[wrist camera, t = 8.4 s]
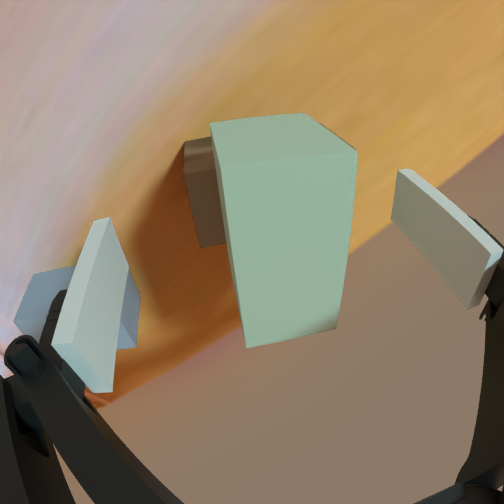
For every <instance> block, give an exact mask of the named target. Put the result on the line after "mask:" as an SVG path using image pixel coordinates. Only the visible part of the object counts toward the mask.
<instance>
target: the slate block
mask: <svg viewBox="0 0 504 504" xmlns="http://www.w3.org/2000/svg"><path fill="white" fill-rule="evenodd" d="M75 268H76V265H75V266H70V267H65V268H61V269H56V270H52V271H47V272H42V273H38V274H33V277H32V279H31V281H30V283H29V285H28V288H27V290H26V292H25V294H24V297H23V299H22V302H21V304H20V306H19V309H18V311H17V314H16V316H15V319H14V323H15V324H16V325H17V327H18V328H19V329H20V331H21V332H22V333H23V334H24V335H31V336H32V337H33V338H34V339H35V340H36V341H37V342H38V343H39V340H40V337H41V334H42V330H43V327H44V324H45V323H46V318H47V315H48V314H49V309H50V306H51V303H52V301H53V299H54V298H55V296H56V295H57V294H58V292H59V291H60V290H65V289H68V287H69V284H70V282H71V279H72V276H73V273H74V270H75ZM140 299H141V296H140V294H139V291H138V289H137V287H136V285H135V282H134V280H133V278H132V275H131V273H130V271H129V269H128V275H127V280H126V286H125V292H124V298H123V305H122V311H121V318H120V326H119V333H118V341H117V350H119V349H127V348H135V347H136V345H137V331H138V319H139V309H140Z"/></svg>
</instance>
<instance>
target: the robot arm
mask: <svg viewBox="0 0 504 504" xmlns="http://www.w3.org/2000/svg"><path fill="white" fill-rule="evenodd" d="M391 220H392V221H393V222H394V223H395V224H396V225H397V226H398V227H399V228H400V229H401V230H402V232H403V233H404V234H405V235H406V236H407V237H408V238H409V239H410V241H411V242H412V243H413V244H414V245H415V246H416V247H417V249H418V250H419V251H420V252H421V253H422V254H423V256H424V257H425V258H426V259H427V260H428V261H429V263H430V264H431V265H432V266H433V267H434V269H435V270H436V271H437V272H438V274H439V275H440V276H441V277H442V279H443V280H444V281H445V282H446V284H447V285H448V286H449V288H450V289H451V290H452V291H453V293H454V294H455V295H456V296H457V298H458V299H459V300H460V302H461V303H462V305H463V306H464V307H465V308H466V310H468V309H470V308H472V307H475V306H477V305H479V304H480V302H481V300H482V298H483V296H484V294H486V295H487V297H488V298H489V299H488V301H487V303H486V305H485V307H484V309H483V311H482V313H481V314H480V318H479V319H482V317H483V316H484V315H485V314H486V318H485V321H486V334H485V353H484V366H483V377H482V386H481V394H480V401H479V408H478V414H477V420H476V425H475V431H474V436H473V440H472V445H471V450H470V454H469V457H468V459H467V460H466V462H465V463H464V465H463V466H462V468H461V470H460V472H459V474H458V476H457V479H456V482H455V485H453V486H451V487H449V488H447V489H445V490H443V491H440V492H438V493H436V494H434V495H432V496H429V497H427V498H425V499H423V500H421V501H418V502H416V503H414V504H504V246H503V245H502V244H501V243H500V242H499V241H498V240H497V239H496V238H495V237H494V236H493V235H492V234H489V232H488V231H487V230H486V229H485V228H483V226H482V225H481V224H480V223H479V222H478V221H476V220H475V219H473V218H472V217H470V216H468V215H466V214H465V213H464V212H463V211H462V210H461V209H459V208H458V207H457V206H456V205H455V204H453V203H452V202H451V201H450V200H449V199H447V198H446V197H445V196H444V195H443V194H442V193H440V192H439V191H438V190H437V189H436V188H434V187H433V186H432V185H431V184H429V183H428V182H427V181H425V180H424V179H423V178H422V177H420V176H419V175H418V174H416V173H415V172H414V171H412V170H411V169H401V170H397V178H396V186H395V194H394V201H393V208H392V214H391ZM128 269H129V265H128V263H127V260H126V258H125V256H124V253H123V251H122V248H121V245H120V243H119V240H118V238H117V235H116V232H115V230H114V227H113V224H112V222H111V219H110V217H108V218H103V219H99V220H95V221H94V222H93V225H92V227H91V229H90V232H89V234H88V237H87V239H86V241H85V244H84V247H83V249H82V252H81V254H80V257H79V259H78V262H77V265H76V268H75V270H74V273H73V276H72V279H71V282H70V284H69V287H68V289H65V290H60V291H59V292H58V294H57V295H56V296H55V298H54V299H53V301H52V303H51V306H50V309H49V314H48V315H47V318H46V323H45V324H44V327H43V330H42V334H41V337H40V340H39V343H38V342H37V341H36V340H35V339H34V338H33V337H32V336H31V335H22V336H19V337H18V338H16V339H14V340H13V341H12V342H11V343H10V344H9V346H8V348H7V349H6V351H5V355H4V364H5V365H6V366H7V367H8V368H9V369H10V370H11V371H12V373H13V374H14V375H13V376H10V377H8V378H5V379H4V378H3V377H2V376H1V375H0V504H76V503H75V501H74V499H73V496H72V494H71V492H70V489H69V487H68V484H67V482H66V479H65V477H64V474H63V472H62V469H61V466H60V463H59V461H58V458H57V455H56V452H55V449H54V446H55V447H56V449H57V450H58V452H59V454H60V455H61V457H62V458H63V460H64V461H65V463H66V464H67V466H68V467H69V469H70V470H71V472H72V473H73V475H74V476H75V478H76V479H77V480H78V482H79V483H80V485H81V486H82V487H83V489H84V490H85V491H86V493H87V494H88V495H89V497H90V498H91V499H92V501H93V502H94V503H95V504H184V503H182V501H181V500H179V499H178V498H177V497H176V496H175V495H174V494H173V493H172V492H171V491H170V490H168V489H167V488H166V487H165V486H164V485H163V484H162V483H161V482H160V481H159V480H158V479H157V478H156V477H155V476H154V475H153V474H152V473H151V472H150V471H149V470H148V469H147V468H146V467H145V466H144V465H143V464H142V463H141V462H140V460H139V459H138V458H137V457H136V456H135V455H134V454H133V453H132V452H131V451H130V450H129V448H128V447H127V446H126V445H125V444H124V443H123V442H122V441H121V439H120V438H119V437H118V436H117V435H116V434H115V433H114V431H113V430H112V429H111V428H110V426H109V425H108V424H107V423H106V422H105V420H104V419H103V418H102V417H101V415H100V414H99V413H98V411H97V410H96V409H95V407H94V406H93V405H92V404H91V402H90V401H89V400H88V398H87V397H86V396H85V395H84V390H85V385H86V386H87V387H88V388H89V389H90V390H91V392H92V393H106V392H113V380H114V369H115V359H116V350H117V341H118V333H119V326H120V318H121V311H122V305H123V298H124V292H125V286H126V280H127V275H128ZM52 442H53V443H52ZM53 444H54V446H53ZM502 485H503V490H502V492H501V491H499V490H497V489H498V488H499V487H500V486H502Z"/></svg>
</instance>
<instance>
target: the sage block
mask: <svg viewBox="0 0 504 504" xmlns="http://www.w3.org/2000/svg"><path fill="white" fill-rule="evenodd" d="M210 131H211V138H212V146H213V153H214V161H215V168H216V175H217V182H218V190H219V197H220V204H221V210H222V217H223V224H224V231H225V238H226V244H227V251H228V257H229V264H230V270H231V276H232V281H233V286H234V291H235V296H236V301H237V305H238V310H239V315H240V320H241V325H242V329H243V334H244V339H245V344H246V348H250V347H255V346H260V345H265V344H270V343H275V342H280V341H285V340H290V339H294V338H299V337H303V336H308V335H312V334H317V333H321V332H325V331H329V330H333V329H336V325H337V320H338V314H339V309H340V303H341V297H342V291H343V284H344V278H345V271H346V264H347V257H348V249H349V241H350V233H351V225H352V216H353V206H354V196H355V185H356V173H357V159H358V152H357V151H356V150H355V149H354V148H352V147H351V146H350V145H348V144H347V143H346V142H344V141H343V140H342V139H340V138H339V137H338V136H336V135H335V134H333V133H332V132H331V131H329V130H328V129H327V128H325V127H324V126H322V125H321V124H319V123H318V122H317V121H315V120H314V119H312V118H311V117H309V116H308V115H306V114H305V113H295V114H282V115H271V116H261V117H252V118H243V119H235V120H227V121H220V122H213V123H210Z"/></svg>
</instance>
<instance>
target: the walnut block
mask: <svg viewBox="0 0 504 504" xmlns="http://www.w3.org/2000/svg"><path fill="white" fill-rule="evenodd" d="M319 124H321V123H319ZM321 125H322V124H321ZM322 126H324V125H322ZM324 127H325V126H324ZM325 128H327V127H325ZM327 129H328V128H327ZM328 130H329V129H328ZM329 131H331V130H329ZM331 132H332V131H331ZM332 133H333V132H332ZM333 134H335V133H333ZM335 135H336V134H335ZM336 136H338V135H336ZM338 137H339V136H338ZM339 138H340V137H339ZM340 139H342V138H340ZM342 140H343V139H342ZM343 141H344V140H343ZM344 142H346V141H344ZM346 143H347V142H346ZM347 144H348V143H347ZM348 145H350V144H348ZM350 146H351V145H350ZM351 147H352V146H351ZM352 148H354V147H352ZM354 149H355V148H354ZM355 150H356V149H355ZM183 175H184V180H185V184H186V189H187V193H188V198H189V202H190V207H191V211H192V216H193V220H194V224H195V228H196V233H197V237H198V241H199V245H200V248H203V247H208V246H213V245H218V244H224V243H226V238H225V231H224V224H223V217H222V210H221V204H220V197H219V190H218V182H217V175H216V168H215V161H214V153H213V146H212V138H211V137H206V138H201V139H195V140H190V141H185V146H184V170H183Z"/></svg>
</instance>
